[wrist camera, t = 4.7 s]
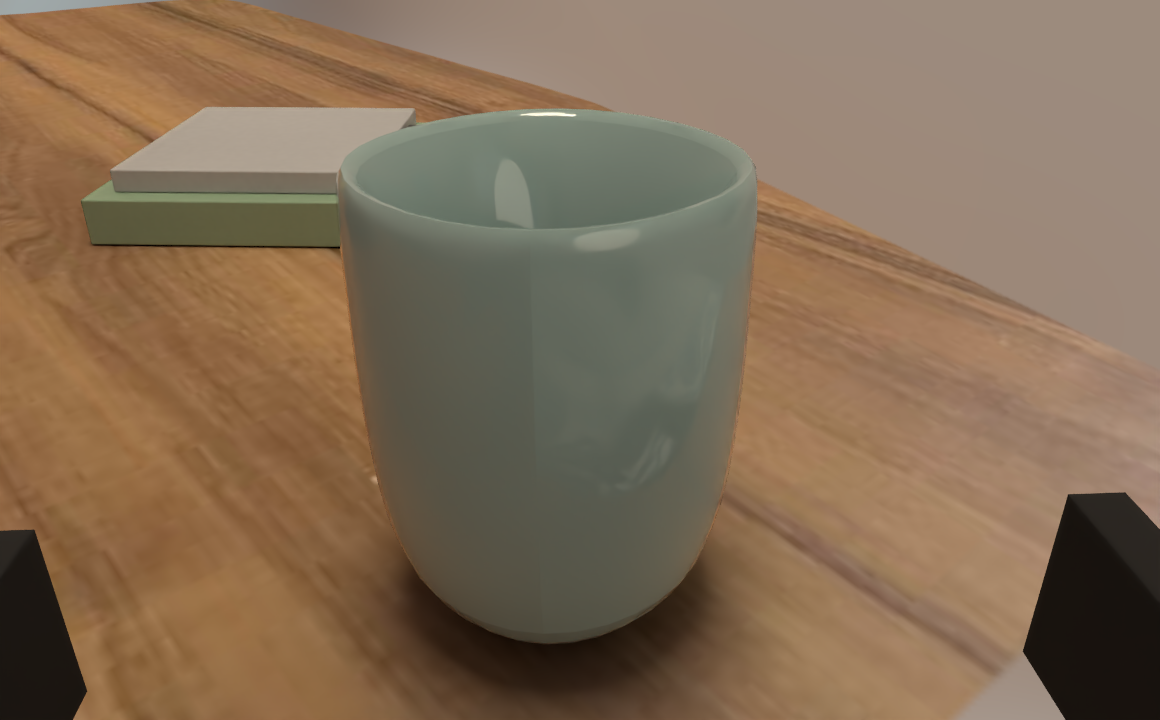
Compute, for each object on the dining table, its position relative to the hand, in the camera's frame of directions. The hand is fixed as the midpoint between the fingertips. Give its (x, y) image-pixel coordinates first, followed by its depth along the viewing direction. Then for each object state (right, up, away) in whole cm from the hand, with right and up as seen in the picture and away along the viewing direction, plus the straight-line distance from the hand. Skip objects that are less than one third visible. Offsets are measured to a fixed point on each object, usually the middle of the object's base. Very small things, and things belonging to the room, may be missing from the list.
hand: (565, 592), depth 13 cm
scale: (-14, +11, +34) cm, 39 cm away
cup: (0, -2, +10) cm, 11 cm away
